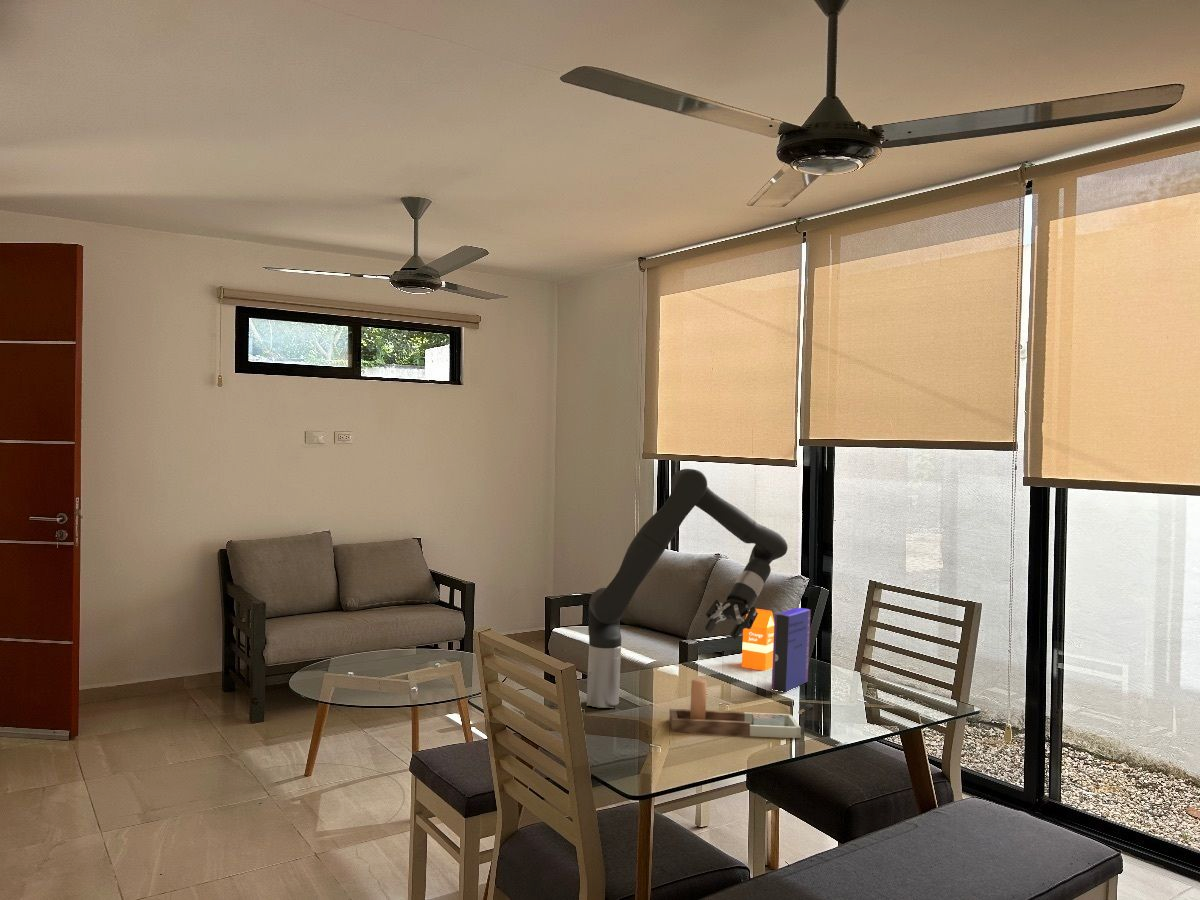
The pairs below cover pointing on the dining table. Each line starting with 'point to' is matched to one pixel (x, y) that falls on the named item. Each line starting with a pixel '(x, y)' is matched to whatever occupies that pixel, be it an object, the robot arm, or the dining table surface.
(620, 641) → the robot arm
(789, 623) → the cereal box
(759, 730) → the tray
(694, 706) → the orange rounded cylinder
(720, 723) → the slot board
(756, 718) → the light grey cube
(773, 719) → the gray cube
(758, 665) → the orange juice
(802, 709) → the tomahawk
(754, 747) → the dining table surface
